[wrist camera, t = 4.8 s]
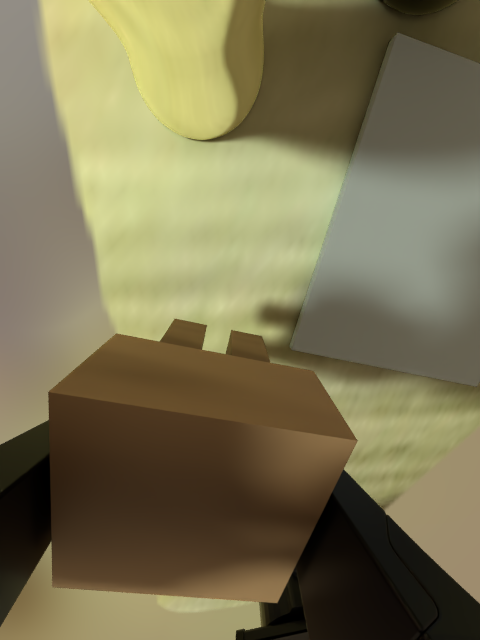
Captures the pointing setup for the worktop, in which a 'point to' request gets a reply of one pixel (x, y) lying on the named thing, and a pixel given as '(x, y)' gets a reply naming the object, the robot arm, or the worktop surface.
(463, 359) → the rubber mat
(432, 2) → the supplement bottle
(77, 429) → the walnut stool
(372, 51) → the worktop surface
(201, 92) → the beer glass
